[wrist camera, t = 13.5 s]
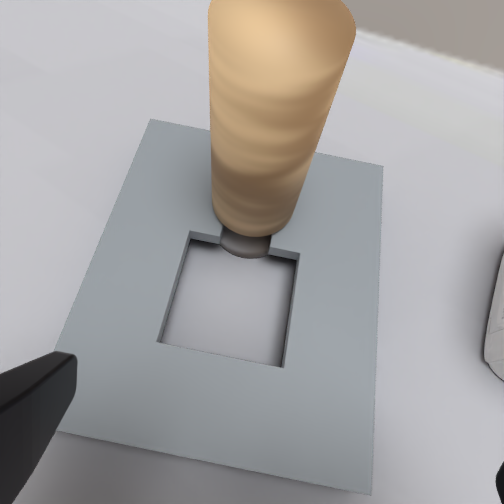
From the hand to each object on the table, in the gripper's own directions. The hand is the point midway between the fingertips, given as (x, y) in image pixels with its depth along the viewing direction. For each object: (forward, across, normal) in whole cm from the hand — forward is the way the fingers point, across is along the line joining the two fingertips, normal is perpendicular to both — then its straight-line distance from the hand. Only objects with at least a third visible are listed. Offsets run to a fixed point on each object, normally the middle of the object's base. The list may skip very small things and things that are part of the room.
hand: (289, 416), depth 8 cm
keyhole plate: (+15, +2, +4) cm, 16 cm away
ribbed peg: (+18, +2, +1) cm, 18 cm away
